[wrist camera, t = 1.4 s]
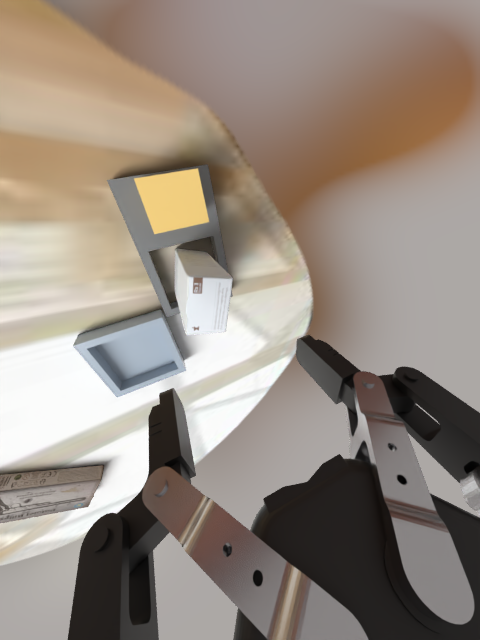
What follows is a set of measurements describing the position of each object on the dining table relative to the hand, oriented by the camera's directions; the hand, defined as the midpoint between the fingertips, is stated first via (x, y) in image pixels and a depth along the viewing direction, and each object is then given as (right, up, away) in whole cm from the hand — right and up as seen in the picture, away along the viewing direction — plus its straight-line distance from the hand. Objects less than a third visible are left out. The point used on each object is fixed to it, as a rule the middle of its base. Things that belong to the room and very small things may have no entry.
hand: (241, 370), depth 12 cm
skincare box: (-7, +10, +16) cm, 20 cm away
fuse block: (-8, +12, +15) cm, 20 cm away
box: (-38, -28, +27) cm, 54 cm away
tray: (-16, -2, +19) cm, 25 cm away
